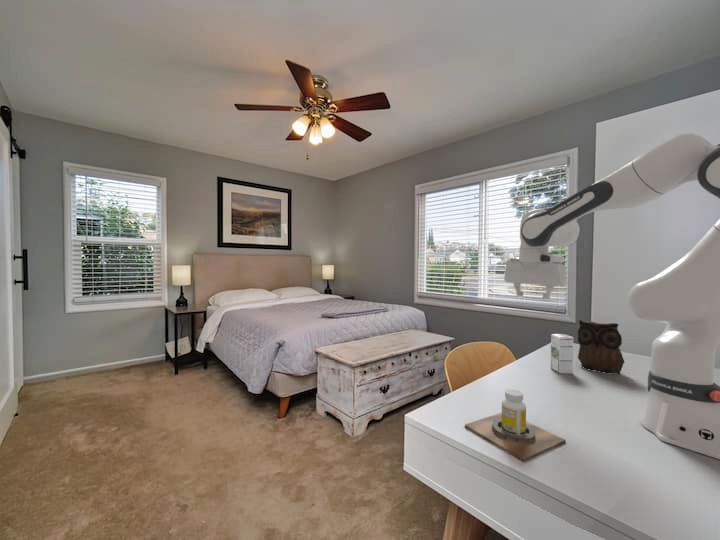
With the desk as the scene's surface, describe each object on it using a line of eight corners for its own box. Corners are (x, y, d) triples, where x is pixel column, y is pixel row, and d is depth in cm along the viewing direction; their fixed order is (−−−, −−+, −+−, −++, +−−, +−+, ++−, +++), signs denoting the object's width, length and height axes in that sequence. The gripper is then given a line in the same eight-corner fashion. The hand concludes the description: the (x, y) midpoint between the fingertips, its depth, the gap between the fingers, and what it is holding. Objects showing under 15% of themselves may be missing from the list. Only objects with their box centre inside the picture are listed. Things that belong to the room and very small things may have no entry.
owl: (625, 375, 120) (627, 324, 120) (591, 374, 121) (592, 323, 121) (603, 365, 133) (604, 318, 132) (572, 363, 134) (573, 318, 134)
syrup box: (573, 373, 121) (574, 337, 121) (558, 373, 121) (559, 336, 121) (564, 368, 127) (565, 333, 127) (549, 368, 127) (550, 333, 127)
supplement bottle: (520, 426, 79) (521, 388, 79) (529, 438, 73) (530, 397, 73) (498, 425, 79) (499, 387, 79) (505, 436, 74) (506, 396, 74)
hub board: (565, 442, 73) (565, 435, 73) (523, 462, 65) (523, 454, 65) (505, 413, 87) (505, 407, 87) (464, 426, 79) (465, 420, 79)
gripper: (501, 257, 114) (500, 294, 115) (558, 256, 97) (557, 300, 97) (511, 258, 118) (511, 294, 118) (569, 257, 100) (568, 300, 100)
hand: (532, 297), depth 107 cm, fingers open, 8 cm apart
